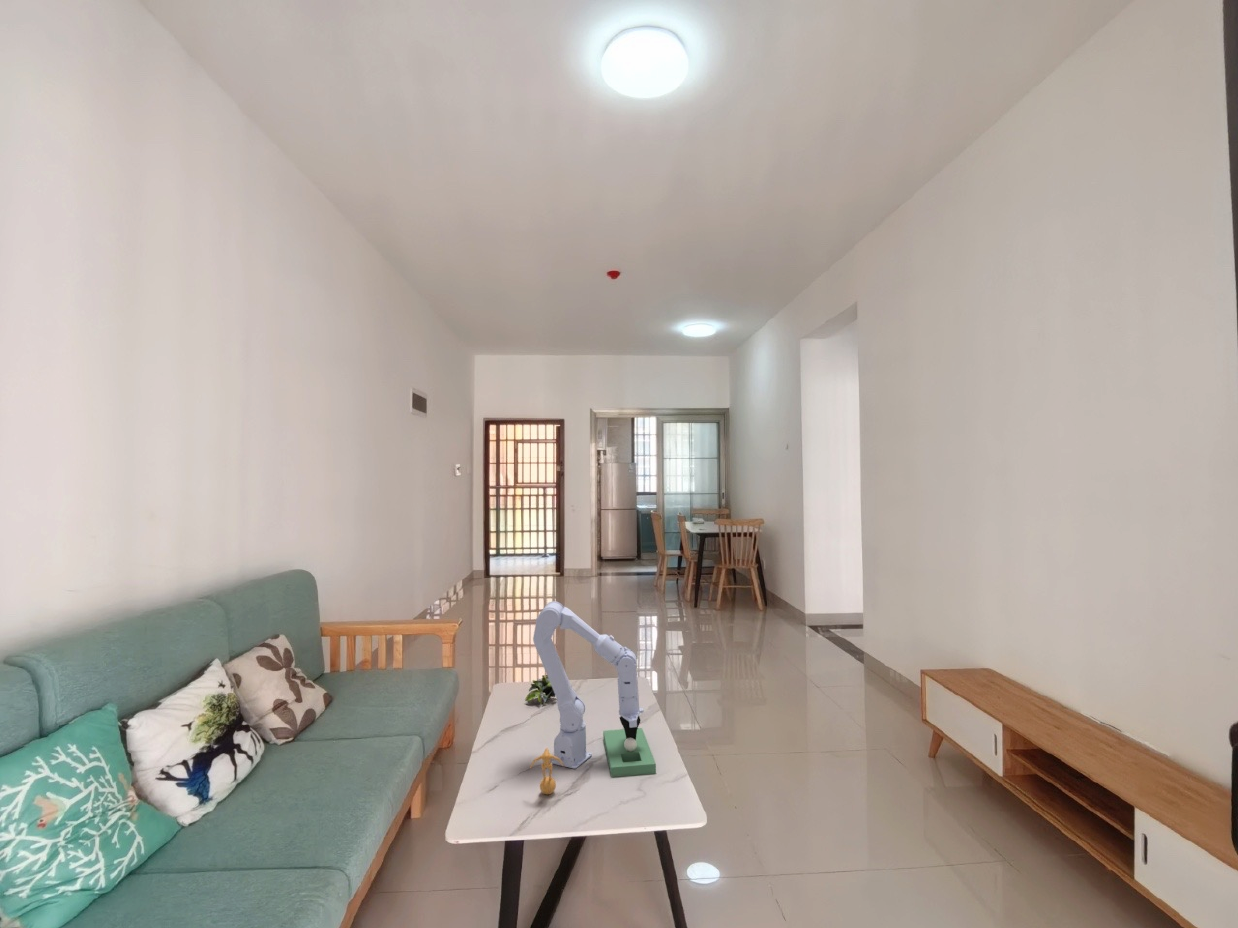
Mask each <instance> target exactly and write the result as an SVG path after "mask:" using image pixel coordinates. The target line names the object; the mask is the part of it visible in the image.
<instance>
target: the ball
mask: <svg viewBox="0 0 1238 928" xmlns="http://www.w3.org/2000/svg"><path fill="white" fill-rule="evenodd" d="M624 747H625V749H626V750H627V751H629V752H632V751H634V750H635V749H636V747H637V742H636V740H635V739H634V738H627V739H626V740H625V742H624Z"/></svg>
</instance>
